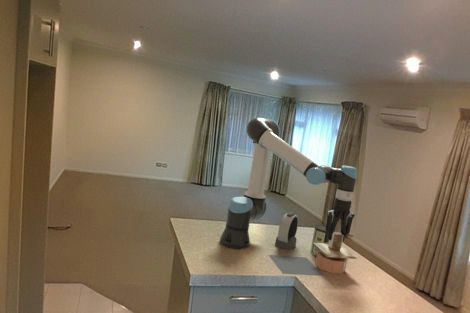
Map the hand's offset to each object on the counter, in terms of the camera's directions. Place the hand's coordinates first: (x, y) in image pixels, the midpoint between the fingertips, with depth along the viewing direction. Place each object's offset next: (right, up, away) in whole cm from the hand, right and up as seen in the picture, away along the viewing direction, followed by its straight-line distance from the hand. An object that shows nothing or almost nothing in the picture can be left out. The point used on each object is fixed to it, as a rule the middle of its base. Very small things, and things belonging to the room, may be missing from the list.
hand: (334, 246), depth 175 cm
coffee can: (-3, -8, +18) cm, 20 cm away
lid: (0, -2, 0) cm, 2 cm away
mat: (-19, -8, -3) cm, 21 cm away
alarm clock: (-20, -5, +23) cm, 31 cm away
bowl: (-2, -10, +1) cm, 10 cm away
